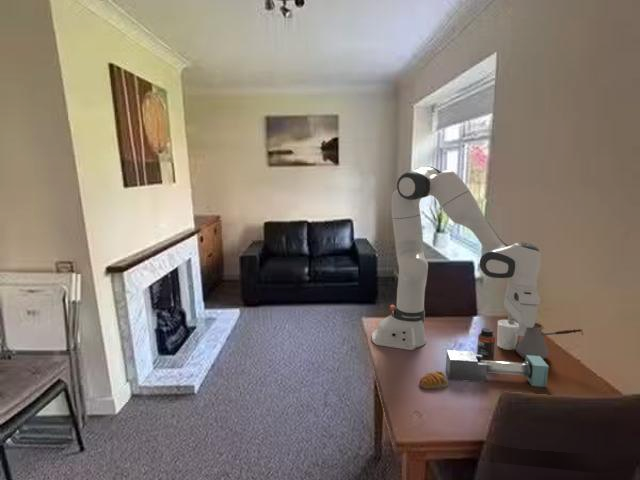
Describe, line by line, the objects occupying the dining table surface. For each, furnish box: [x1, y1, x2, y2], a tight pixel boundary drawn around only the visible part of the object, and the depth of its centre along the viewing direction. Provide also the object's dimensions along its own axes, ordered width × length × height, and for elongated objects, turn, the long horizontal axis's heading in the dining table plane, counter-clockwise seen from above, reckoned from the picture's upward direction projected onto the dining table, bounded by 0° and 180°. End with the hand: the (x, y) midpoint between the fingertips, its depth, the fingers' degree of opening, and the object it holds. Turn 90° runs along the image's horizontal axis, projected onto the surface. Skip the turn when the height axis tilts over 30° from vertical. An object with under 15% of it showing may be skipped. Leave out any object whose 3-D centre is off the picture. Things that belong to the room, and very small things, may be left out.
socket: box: [525, 355, 550, 388], centre depth 135 cm, size 4×7×7 cm, turn 172°
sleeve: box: [445, 349, 488, 383], centre depth 138 cm, size 12×7×7 cm, turn 82°
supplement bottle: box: [476, 327, 496, 361], centre depth 151 cm, size 6×6×11 cm
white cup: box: [496, 319, 519, 351], centre depth 160 cm, size 8×8×10 cm
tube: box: [479, 359, 532, 378], centre depth 136 cm, size 19×5×5 cm, turn 82°
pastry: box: [418, 370, 449, 390], centre depth 133 cm, size 9×7×4 cm
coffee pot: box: [514, 322, 584, 360], centre depth 148 cm, size 21×12×15 cm, turn 53°
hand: (515, 329), depth 136 cm, fingers open, 8 cm apart
